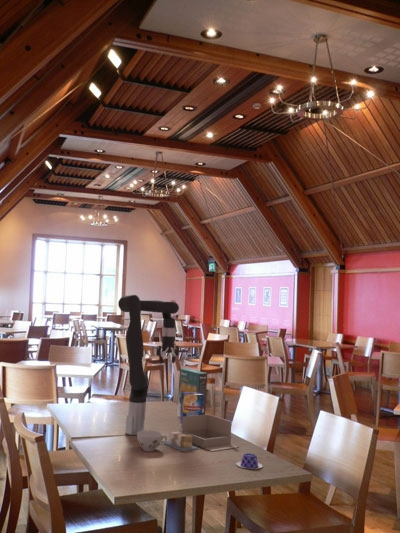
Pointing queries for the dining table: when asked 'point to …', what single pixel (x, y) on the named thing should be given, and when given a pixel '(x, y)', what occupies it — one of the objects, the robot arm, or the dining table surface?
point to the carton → (208, 432)
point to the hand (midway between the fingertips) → (167, 363)
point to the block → (180, 439)
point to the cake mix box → (192, 385)
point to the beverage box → (190, 405)
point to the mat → (179, 447)
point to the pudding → (249, 461)
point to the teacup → (150, 439)
